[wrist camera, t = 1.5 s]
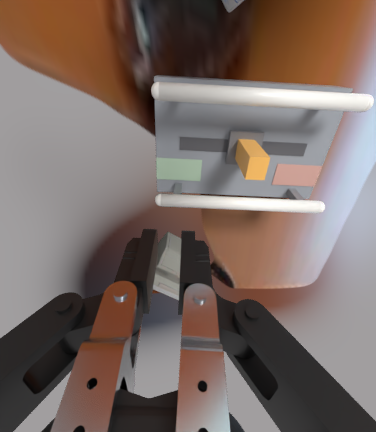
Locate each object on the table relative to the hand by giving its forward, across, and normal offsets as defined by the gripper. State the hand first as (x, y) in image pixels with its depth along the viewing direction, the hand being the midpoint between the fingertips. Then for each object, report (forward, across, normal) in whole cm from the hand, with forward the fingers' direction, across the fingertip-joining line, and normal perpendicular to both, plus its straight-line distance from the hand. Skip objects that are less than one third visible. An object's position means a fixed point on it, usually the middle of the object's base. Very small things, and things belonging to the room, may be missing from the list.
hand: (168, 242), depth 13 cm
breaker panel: (+23, -8, 0) cm, 24 cm away
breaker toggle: (+19, -8, 0) cm, 20 cm away
